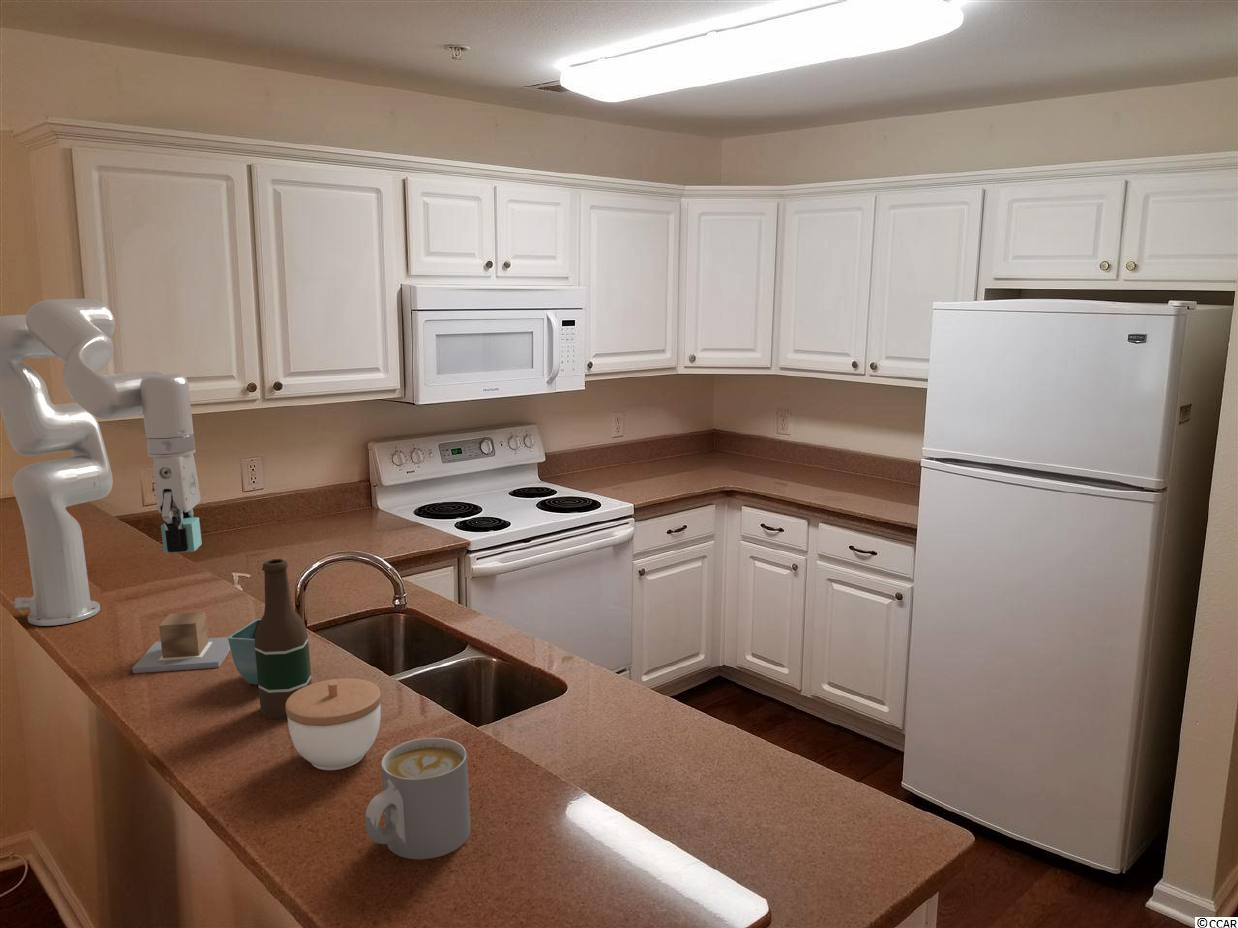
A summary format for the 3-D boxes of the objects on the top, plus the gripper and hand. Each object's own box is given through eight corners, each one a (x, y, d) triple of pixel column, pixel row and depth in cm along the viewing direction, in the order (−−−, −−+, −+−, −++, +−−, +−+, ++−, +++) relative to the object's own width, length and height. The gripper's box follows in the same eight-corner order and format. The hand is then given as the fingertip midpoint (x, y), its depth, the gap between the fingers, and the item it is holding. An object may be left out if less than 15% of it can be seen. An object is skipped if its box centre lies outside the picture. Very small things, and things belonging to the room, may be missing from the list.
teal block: (164, 553, 162) (160, 525, 161) (172, 545, 167) (169, 518, 166) (194, 551, 163) (191, 523, 162) (201, 544, 168) (198, 517, 167)
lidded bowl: (333, 790, 121) (327, 711, 119) (270, 765, 128) (264, 690, 126) (403, 749, 132) (399, 676, 130) (341, 728, 138) (336, 658, 136)
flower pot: (279, 693, 151) (275, 640, 149) (231, 689, 152) (226, 637, 151) (308, 671, 159) (304, 621, 157) (261, 667, 161) (257, 618, 159)
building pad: (133, 673, 159) (132, 666, 159) (156, 646, 171) (155, 640, 171) (219, 667, 161) (218, 660, 161) (236, 641, 173) (235, 635, 173)
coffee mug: (443, 802, 118) (439, 729, 116) (486, 835, 111) (483, 758, 109) (344, 844, 110) (338, 766, 108) (384, 883, 102) (379, 800, 100)
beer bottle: (264, 724, 140) (250, 571, 135) (257, 704, 147) (244, 558, 142) (317, 713, 143) (305, 564, 139) (309, 694, 150) (297, 551, 145)
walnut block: (162, 658, 162) (159, 625, 161) (173, 645, 168) (169, 613, 167) (199, 655, 163) (195, 623, 162) (208, 642, 169) (205, 611, 168)
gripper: (180, 452, 154) (192, 558, 157) (206, 437, 170) (216, 533, 174) (131, 455, 152) (144, 561, 156) (162, 439, 169) (173, 536, 172)
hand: (182, 545), depth 165 cm, fingers closed on teal block, 5 cm apart
